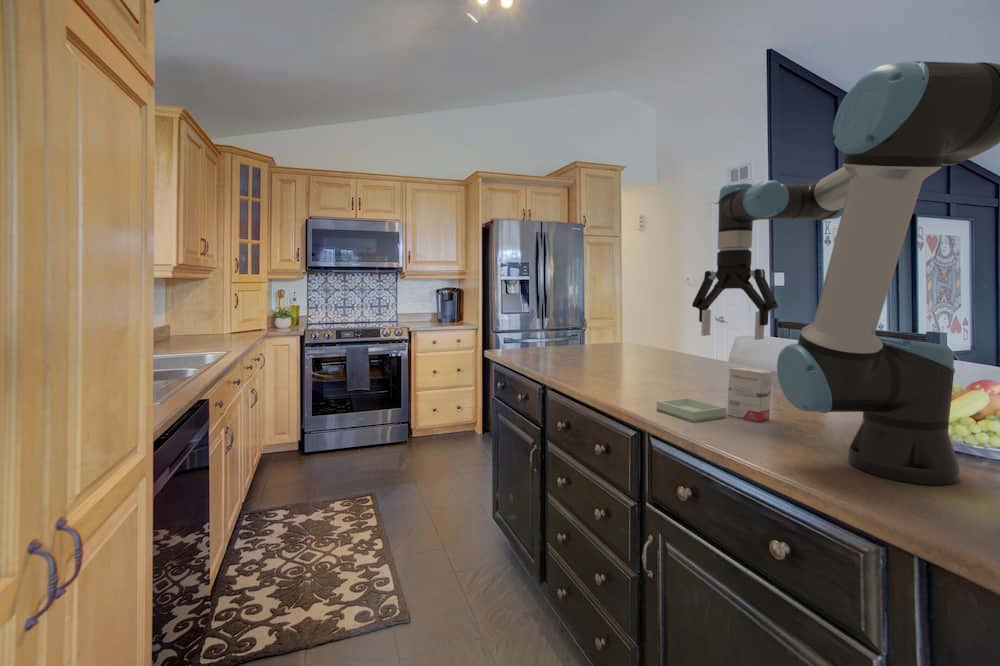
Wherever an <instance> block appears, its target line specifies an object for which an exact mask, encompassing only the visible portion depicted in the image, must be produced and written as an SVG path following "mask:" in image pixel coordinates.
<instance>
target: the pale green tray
mask: <svg viewBox="0 0 1000 666" xmlns="http://www.w3.org/2000/svg"><path fill="white" fill-rule="evenodd" d="M656 411H657V412H659V413H663V414H666V415H669V416H672V417H675V418H678V419H681V420H684V421H687V422H690V423H699V422H700V423H701V422H706V421H708V422H709V421H715V420H721V419H726V417H727V407H725V406H721V405H717V404H713V403H709V402H705V401H702V400H699V399H695V398H692V397H691V398H690V397H682V398H681V397H680V398H673V399H665V400H657V401H656Z"/></svg>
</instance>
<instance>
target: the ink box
mask: <svg viewBox="0 0 1000 666" xmlns="http://www.w3.org/2000/svg"><path fill="white" fill-rule="evenodd" d="M728 375H729V376H728V392H727V393H728V394H727V407H726V416H730V417H736V418H740V419H745V420H749V421H753V422H757V423H758V422H763V421H766V420H770V414H771V413H770V412H771V399H772V398H771V397H772V396H771V394H772V381H773V380H772V378H773V377H772V376H773V372H772V371H765V370H758V369H750V368H745V367H744V368H742V367H733V368H730V369H729V374H728Z"/></svg>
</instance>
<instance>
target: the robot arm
mask: <svg viewBox="0 0 1000 666" xmlns="http://www.w3.org/2000/svg"><path fill="white" fill-rule="evenodd" d="M832 136H833V137H834V140H833V144H834V146H835V147H836V148H837V149H838V151H840V152H842V153H843V154H844V158H843V162H842V167H840V168H839V169H836V170H835V171H833V172H831V173H830V174H828V175H826V176H824V177H823V178H821V179H819V180H817V181H815V182H813V183H807V184H805V183H804V184H803V183H802V184H801V183H799V184H795V183H794V184H792V183H791V184H786V183H784V184H783V183H782V182H780V181H778V180H775V179H773V180H765V181H760V182H757V183H755V184H754V185H753V184H752V183H748V182H735V183H731V184H725V185H724V186H722V187H721V188H720V190H719V197H718V198H719V199H718V203H717V204H718V224H717V225H718V228H717V229H718V231H717V232H718V233H717V249H718V250H719V251H718V252H717V254H716V255H717V256H716V257H717V259H716V266H717V270H716V271H714V270H706V271H705V272H704V275H703V276H704V277H703V281H702V283H701V285H700V286H699V288H698V289H699V290H698V291H697V294H696V296H695V297H694V300H693V302H692V305H691V307H693V308H696V309H698V311H699V315H698V321H699V323H701V335H700V336H706V337H707V336H710V335H711V320H712V319H711V316H712V315H711V313H712V310H711V309H710V308H709V307H710V306H711V305H712V304H713V303H714V302H715V301H716V300H717V298H718V297H719V295H721V294H722V292H723V291H725V289H730V290H731V289H732V290H733V289H734V290H735V289H739V290H740V289H741V290H743V292H744V293H745V294H746V295H747V296H748V298H749V299H750V300H751V302H752V303H753V304H754V305H755V306H756V308H757V311H755V318H754V320H755V322H754V323H755V325H754V340H756V341H759V340H764V339H765V337H764V336H765V326H768V324H769V314H770V311H772V310H776V309H778V306H779V305H778V303H777V300H776V298H775V296H774V294H773V292H772V290H771V288H770V286H769V283H768V282H767V279H766V274H765V273H766V272H765V270H764V268H763V269H762V268H756V269H754V270H753V269H751V267H752V251H751V250H750V249H751V248H752V246H753V245H752V244H753V225H754V224H753V222H755V221H761V220H814V221H815V220H816V221H825V220H834V219H838V218H840V220H839V224H838V227H837V231H836V232H837V233H836V237H835V239H834V243H833V247H832V251H831V255H830V258H829V262H828V266H827V271H826V274H825V278H824V282H823V285H822V286H823V287H822V288H821V289H822V290H821V294H820V298H819V301H818V305H817V307H816V311H815V316H814V320H813V322H812V323H810V324H807V325H806V326H804V327H802V328H801V330H800V334H799V337H798V341H797V343H790V344H788V345H786V346H784V348H782V349H781V351H780V352H779V354H778V357H777V362H776V372H777V380H778V383H779V384H778V385H780V389H781V391H782V393H783V395H784V396H785V398H786V400H787V401H788V402H789V403H790V405H792V406H793V407H795V408H797V409H798V410H800V411H803V412H815V413H820V414H827V413H847V412H848V413H856V412H857V413H859V412H860V413H861V412H863V413H862V420H861V424H860V425H859V427H858V430H857V431H856V433H855V435H854V438H853V440H852V441H851V444H850V446H849V449H848V455H847V456H848V459H847V460H848V462H849V463H850V465H852V466H853V467H855V468H857V469H859V470H862V471H864V472H866V473H869V474H872V475H875V476H878V477H882V478H884V479H885V478H886V479H889V480H895V481H900V482H905V483H910V484H920V485H928V486H929V485H931V486H943V485H944V486H946V485H951V484H952V485H953V484H956V483H957V482H958V481H959V480H960V479H959V478H960V464H959V461H958V458H957V455H956V453H955V449H954V446H953V443H952V440H951V438H950V434H949V428H950V427H949V426H950V417H951V416H950V414H951V404H952V394H953V383H954V375H955V373H956V368H955V366H954V364H955V363H954V360H955V359H954V355H955V354H954V352H953V350H952V349H951V348H950V347H949V346H947V345H945V344H940V343H934V342H932V343H931V342H926V341H925V342H924V341H918V340H917V341H916V340H909V339H904V338H903V339H901V338H893V337H887V336H879V335H878V336H877V335H876V331H877V328H878V325H879V321H880V318H881V315H882V311H883V309H884V305H885V302H886V299H887V296H888V292H889V289H890V286H891V283H892V280H893V276H894V274H895V271H896V268H897V264H898V261H899V257H900V255H901V251H902V248H903V245H904V242H905V238H906V235H907V232H908V229H909V226H910V223H911V220H912V216H913V212H914V209H915V206H916V203H917V201H918V198H919V194H920V192H921V188H922V184H923V181H925V180H926V179H927V178H928V177H930V176H931V175H933V174H934V173H936V172H937V171H939V170H941V169H942V166H953V165H957V164H960V163H962V162H964V161H967V160H970V159H972V158H974V157H976V156H978V155H981V154H983V153H985V152H987V151H989V150H990V149H992V148H994V147H995V146H997V145H998V144H1000V63H993V62H984V61H983V62H982V61H981V62H951V61H950V62H949V61H946V62H945V61H919V60H918V61H917V60H916V61H907V62H906V61H905V62H904V61H903V62H895V63H887V64H882V65H880V66H876V67H875V68H873V69H871V70H870V71H868V72H867V73H865V74H864V75H863V76H862V77H860V78H859V79H858V81H857V82H856V83H855V84H854V85H852V87H851V88H850V89H849V91H848V92H847V93H846V94H845V96H844V97H843V99H842V101H841V103H840V106H839V107H838V109H837V112H836V115H835V119H834V121H833V127H832ZM751 277H752V278H753V279H754V281H755V283H756V286H757V287H758V289H759V292H760V294H761V295H760V294H759V293H758V292H757V290H756V289H755V288H754V286H753V284H752V283H751V281H750V279H751ZM715 279H716V280H717V282H716V283H715V284H714V285H713V283H714V280H715ZM712 285H713V288H712V289H711V287H712ZM710 289H711V291H710ZM709 291H710V292H709Z"/></svg>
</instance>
